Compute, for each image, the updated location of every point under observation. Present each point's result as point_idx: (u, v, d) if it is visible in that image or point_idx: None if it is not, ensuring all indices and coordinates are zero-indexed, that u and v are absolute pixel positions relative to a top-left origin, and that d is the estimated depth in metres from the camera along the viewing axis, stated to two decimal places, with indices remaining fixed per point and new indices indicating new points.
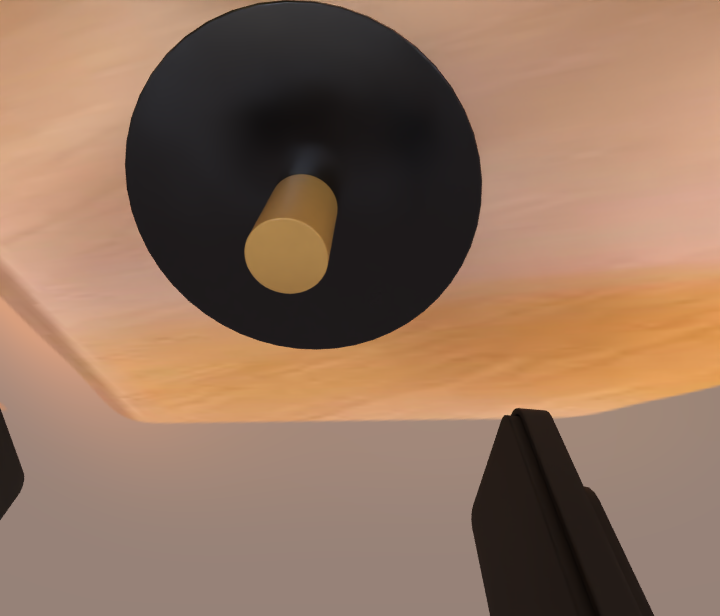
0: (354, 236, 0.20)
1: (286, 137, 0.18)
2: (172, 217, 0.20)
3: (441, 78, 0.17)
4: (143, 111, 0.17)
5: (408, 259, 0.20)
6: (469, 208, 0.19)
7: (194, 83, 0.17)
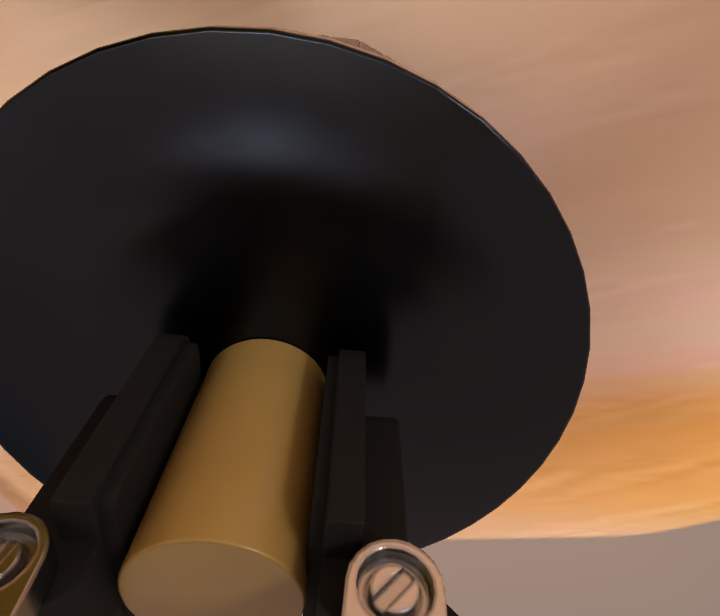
0: None
1: (228, 280, 0.09)
2: (36, 403, 0.11)
3: (531, 177, 0.08)
4: None
5: (450, 459, 0.12)
6: (563, 388, 0.11)
7: (38, 189, 0.09)
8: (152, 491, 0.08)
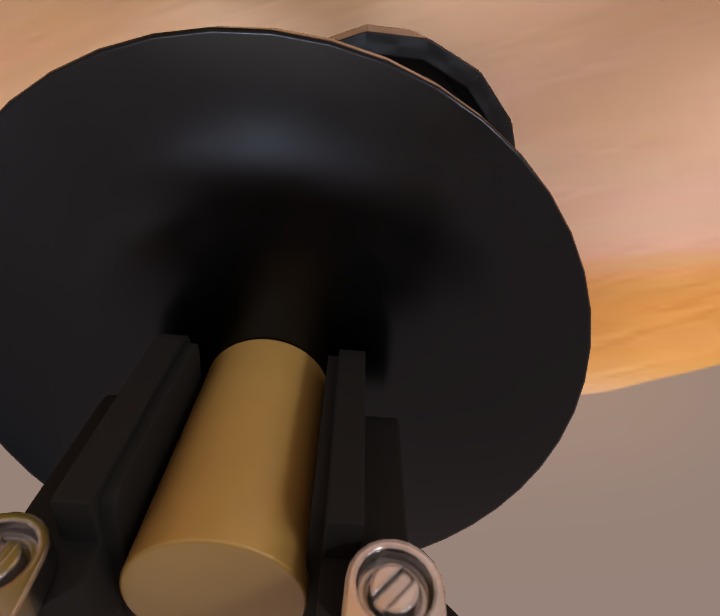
0: None
1: (229, 281, 0.09)
2: (37, 403, 0.11)
3: (532, 178, 0.08)
4: None
5: (451, 459, 0.12)
6: (563, 388, 0.11)
7: (39, 189, 0.09)
8: (152, 491, 0.08)
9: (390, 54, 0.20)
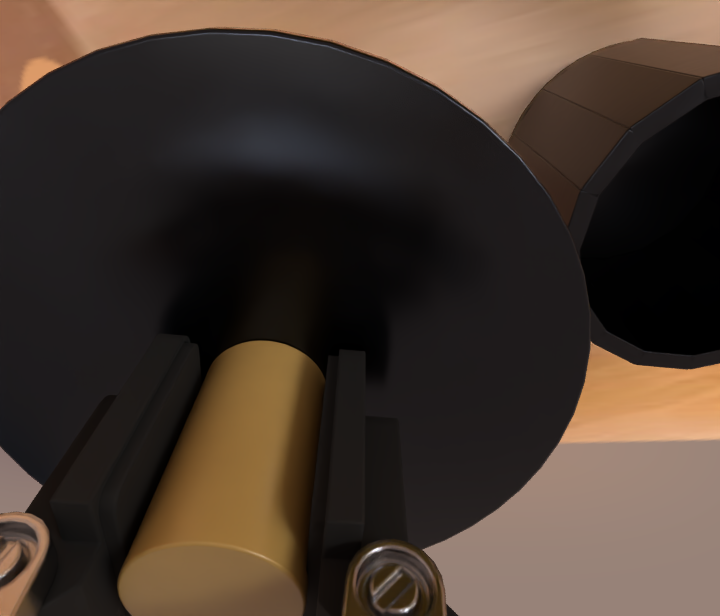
0: None
1: (228, 282, 0.09)
2: (35, 404, 0.11)
3: (531, 179, 0.08)
4: None
5: (450, 460, 0.12)
6: (563, 389, 0.11)
7: (38, 191, 0.09)
8: (152, 491, 0.08)
9: None
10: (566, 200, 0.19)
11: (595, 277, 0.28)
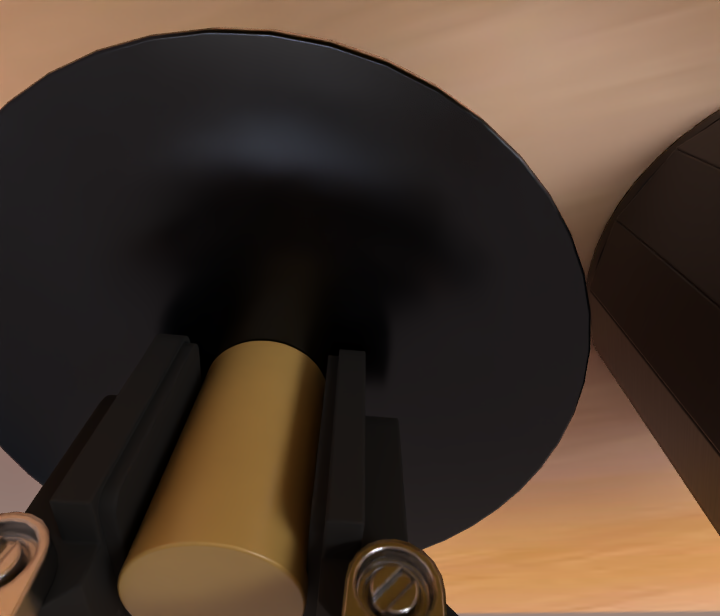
0: None
1: (228, 282, 0.09)
2: (35, 404, 0.11)
3: (531, 179, 0.08)
4: None
5: (450, 460, 0.12)
6: (563, 389, 0.11)
7: (37, 191, 0.09)
8: (152, 491, 0.08)
9: None
10: None
11: None
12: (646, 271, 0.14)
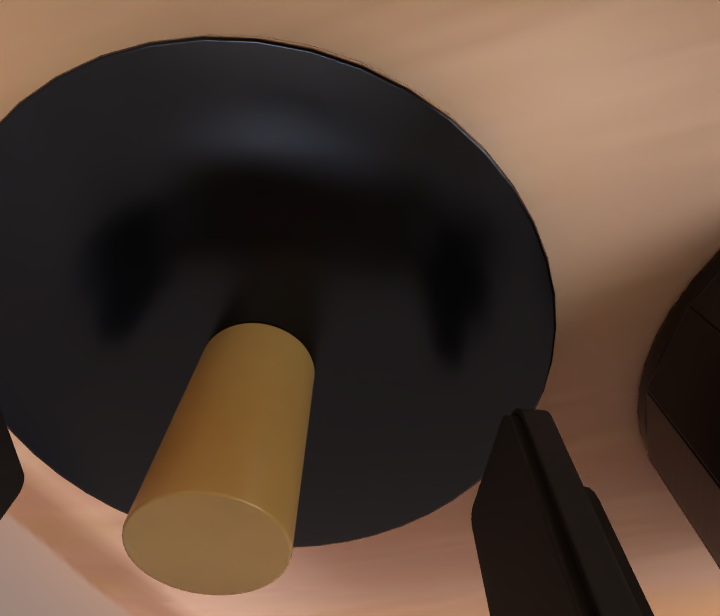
0: (343, 408, 0.12)
1: (221, 268, 0.10)
2: (41, 386, 0.12)
3: (496, 172, 0.09)
4: None
5: (430, 436, 0.13)
6: (532, 367, 0.12)
7: (45, 184, 0.09)
8: None
9: None
10: None
11: None
12: None
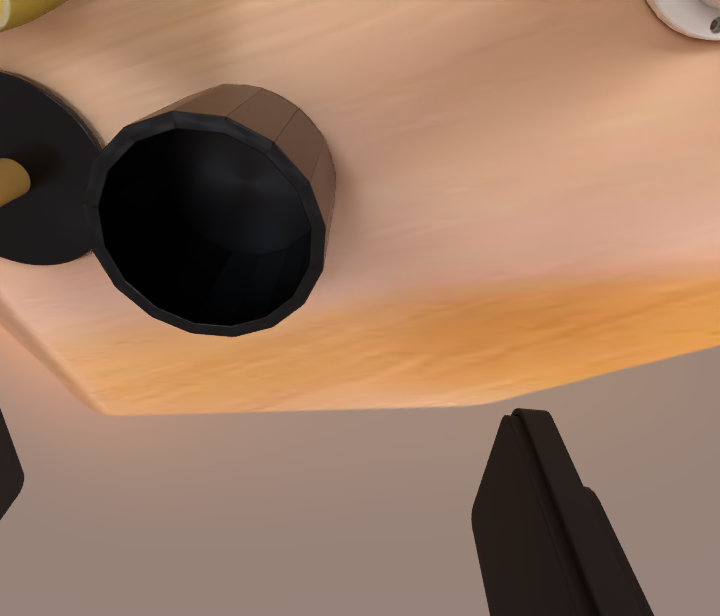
0: (44, 193, 0.35)
1: None
2: None
3: (60, 106, 0.32)
4: None
5: (79, 207, 0.35)
6: None
7: None
8: None
9: (195, 129, 0.24)
10: None
11: (232, 269, 0.35)
12: None
